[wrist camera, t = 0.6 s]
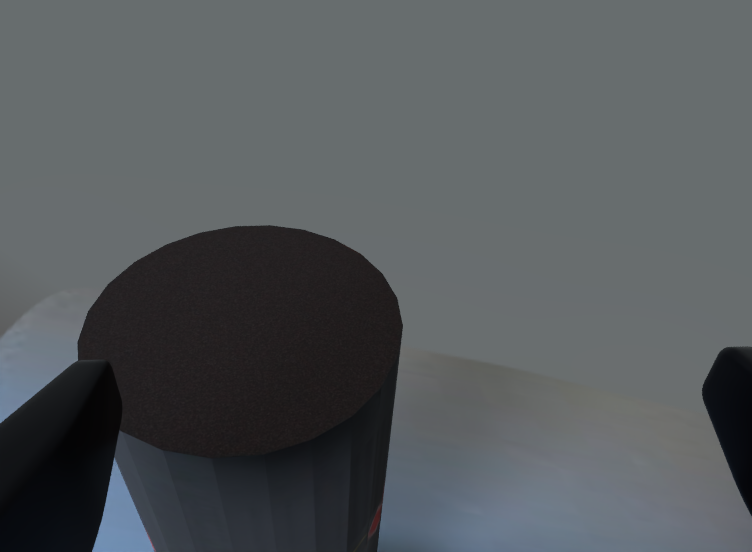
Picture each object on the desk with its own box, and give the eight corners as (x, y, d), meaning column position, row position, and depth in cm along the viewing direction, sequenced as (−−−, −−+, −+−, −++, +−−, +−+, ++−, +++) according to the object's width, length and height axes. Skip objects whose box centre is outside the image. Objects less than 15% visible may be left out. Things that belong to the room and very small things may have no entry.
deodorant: (370, 537, 23) (400, 232, 14) (366, 722, 19) (406, 466, 9) (219, 532, 23) (138, 218, 13) (178, 716, 19) (13, 450, 9)
